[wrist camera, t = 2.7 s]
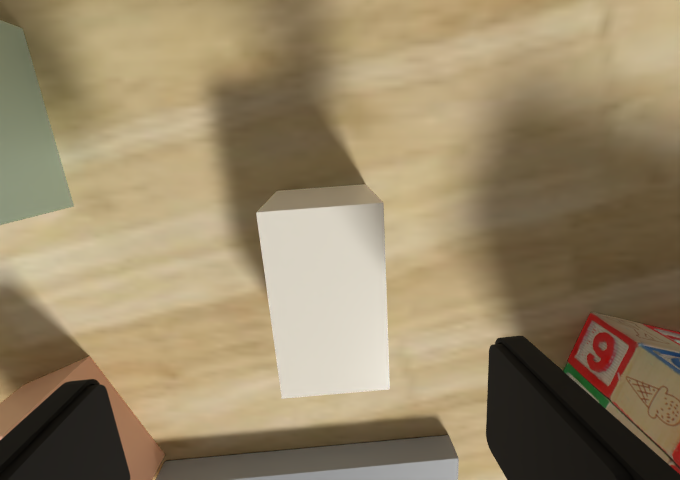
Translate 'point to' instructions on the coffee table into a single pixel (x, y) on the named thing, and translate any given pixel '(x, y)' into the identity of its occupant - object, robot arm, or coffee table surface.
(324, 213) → the ivory brick
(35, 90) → the sage brick
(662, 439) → the stack of blocks
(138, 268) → the coffee table surface
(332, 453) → the slate board
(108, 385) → the terracotta brick
